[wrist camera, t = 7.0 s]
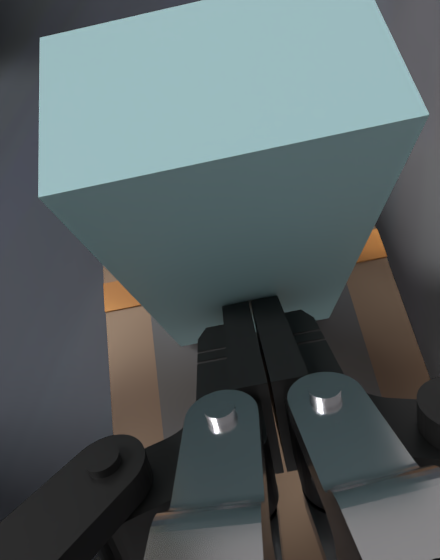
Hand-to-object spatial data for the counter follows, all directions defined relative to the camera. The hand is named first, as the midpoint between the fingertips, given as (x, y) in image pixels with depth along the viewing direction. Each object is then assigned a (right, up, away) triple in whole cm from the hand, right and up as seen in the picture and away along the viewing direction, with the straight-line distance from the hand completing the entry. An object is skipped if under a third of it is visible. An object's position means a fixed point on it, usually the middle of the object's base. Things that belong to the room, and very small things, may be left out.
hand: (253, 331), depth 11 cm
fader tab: (0, +1, +4) cm, 4 cm away
